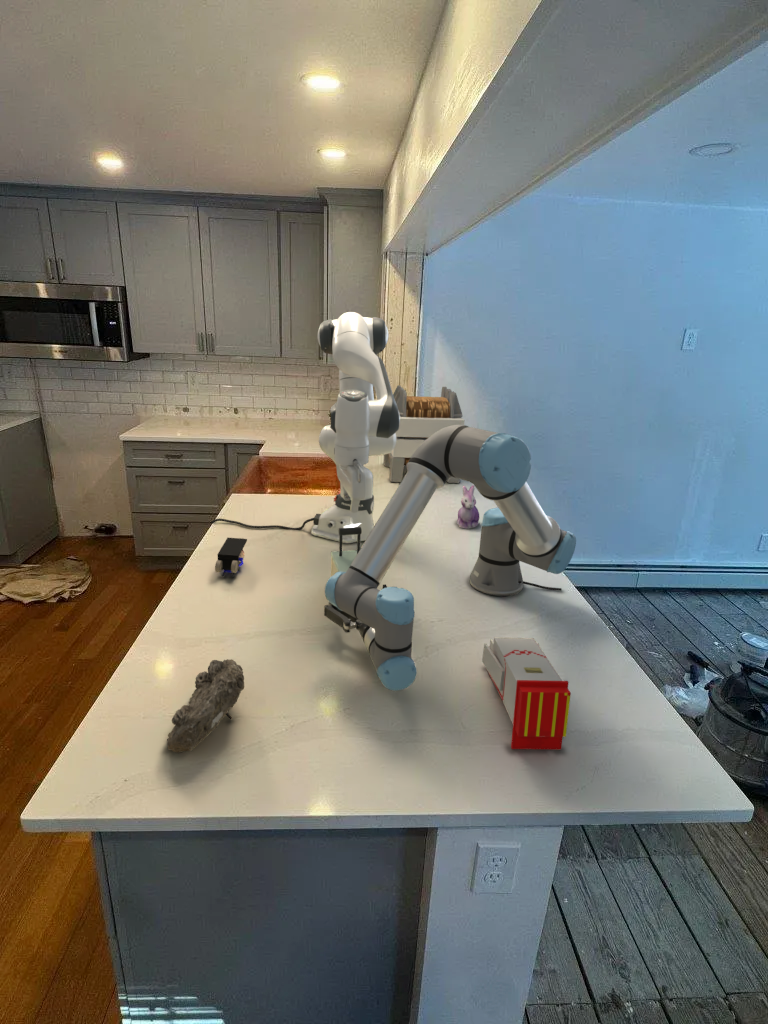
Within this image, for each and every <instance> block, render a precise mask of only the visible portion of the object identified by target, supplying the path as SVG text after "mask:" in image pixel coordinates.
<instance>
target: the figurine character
mask: <svg viewBox="0 0 768 1024" xmlns="http://www.w3.org/2000/svg"><path fill="white" fill-rule="evenodd" d="M247 542H248V538H240V537H226V539H225V541H224V543H223V544H222V546H221V547H220V549H219V551H218V552H217V560H216V562H215V564H214V572H215V573H221V577H222V578H224V577H225V576H226V574H227V573H230V574H231V573H232V574H231V578H234V577H235V575H236V573H237V572H239V571H240V567H242V566H243V565H244V564H245V562H244V558H245V551H244V547H245V546H246V544H247Z"/></svg>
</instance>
